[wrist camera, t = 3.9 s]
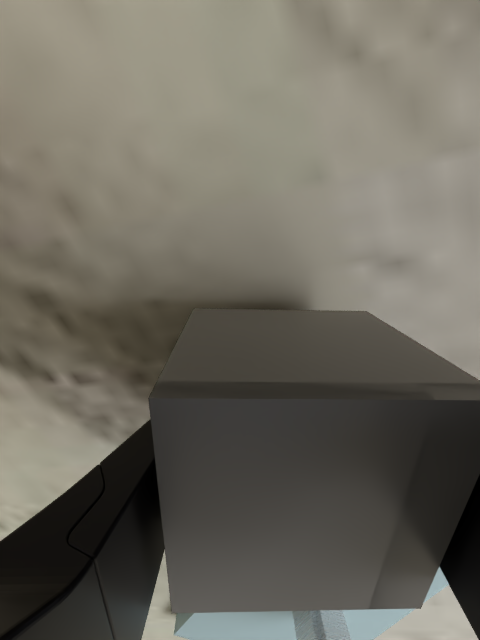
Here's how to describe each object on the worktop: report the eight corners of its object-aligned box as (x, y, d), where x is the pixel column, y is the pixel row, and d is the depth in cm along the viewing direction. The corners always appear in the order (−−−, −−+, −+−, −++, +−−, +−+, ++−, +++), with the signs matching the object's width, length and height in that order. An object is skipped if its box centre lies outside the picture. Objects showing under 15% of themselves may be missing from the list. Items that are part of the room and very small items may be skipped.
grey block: (193, 308, 9) (148, 398, 4) (366, 311, 9) (511, 400, 4) (198, 449, 11) (172, 618, 6) (339, 449, 11) (418, 613, 6)
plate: (296, 479, 14) (301, 497, 13) (454, 550, 16) (468, 570, 15) (176, 613, 18) (173, 635, 17) (318, 655, 20) (322, 676, 19)
